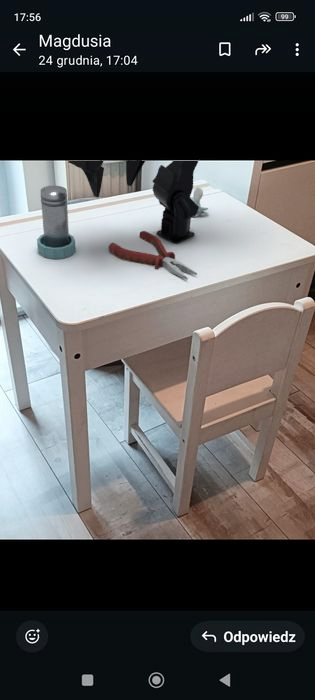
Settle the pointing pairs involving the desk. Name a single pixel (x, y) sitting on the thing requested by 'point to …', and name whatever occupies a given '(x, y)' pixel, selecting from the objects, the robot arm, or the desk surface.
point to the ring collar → (56, 249)
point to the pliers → (152, 256)
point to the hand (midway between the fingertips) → (113, 191)
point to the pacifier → (198, 200)
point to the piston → (55, 216)
